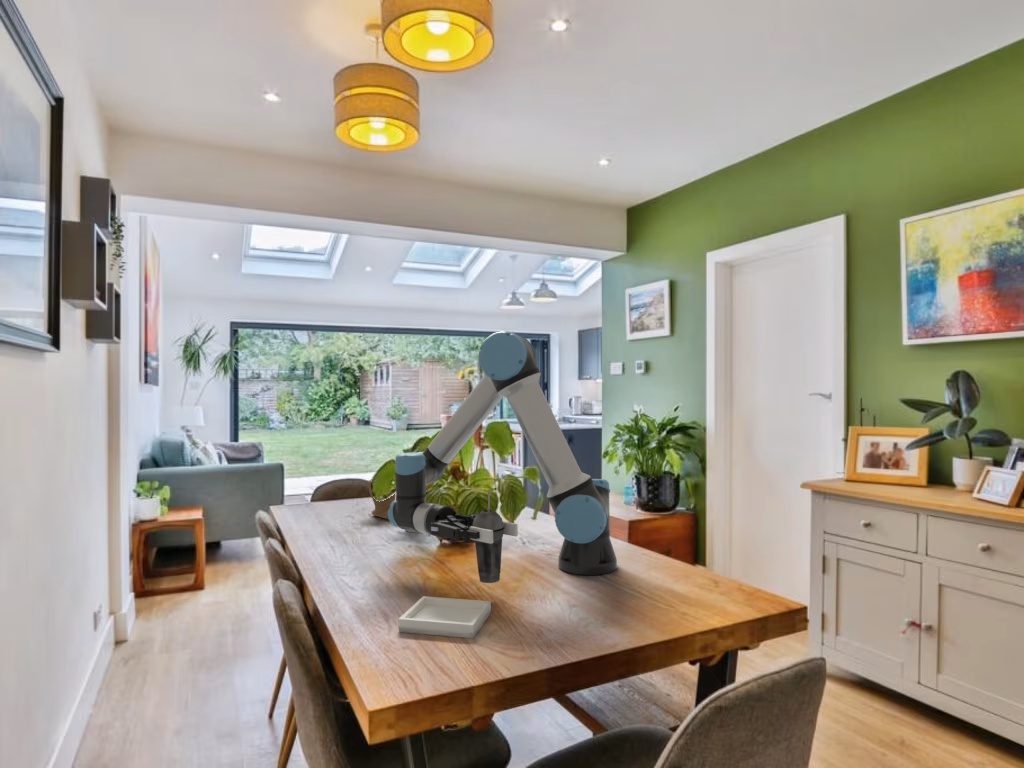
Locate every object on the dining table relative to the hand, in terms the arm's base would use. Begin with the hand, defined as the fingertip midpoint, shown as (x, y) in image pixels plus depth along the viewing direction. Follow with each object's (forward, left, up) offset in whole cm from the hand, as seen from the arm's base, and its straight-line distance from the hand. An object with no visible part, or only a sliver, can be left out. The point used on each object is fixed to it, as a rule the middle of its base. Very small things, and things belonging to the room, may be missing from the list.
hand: (504, 533), depth 134 cm
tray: (+9, +13, -15) cm, 22 cm away
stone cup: (+62, -76, -16) cm, 100 cm away
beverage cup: (+4, -2, -11) cm, 12 cm away
